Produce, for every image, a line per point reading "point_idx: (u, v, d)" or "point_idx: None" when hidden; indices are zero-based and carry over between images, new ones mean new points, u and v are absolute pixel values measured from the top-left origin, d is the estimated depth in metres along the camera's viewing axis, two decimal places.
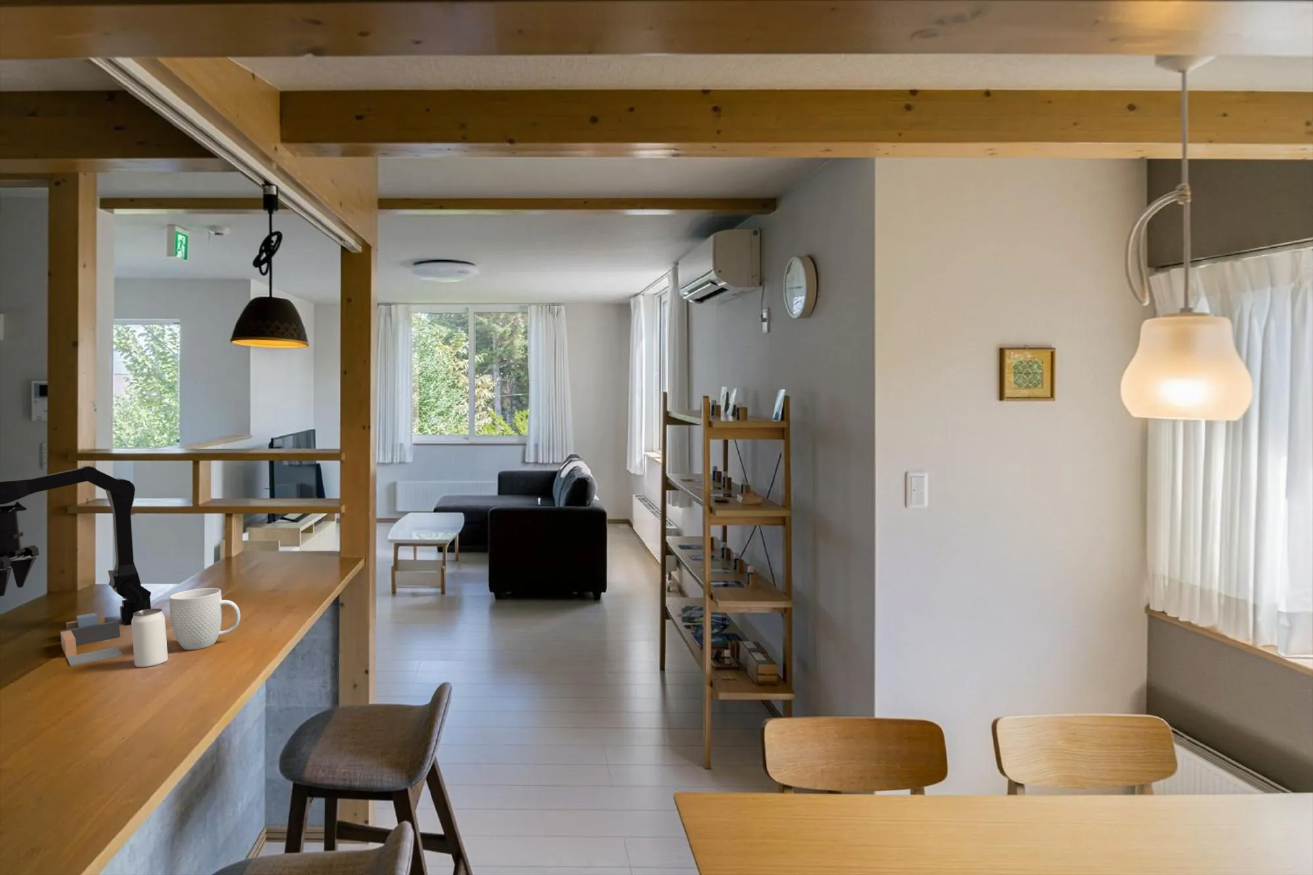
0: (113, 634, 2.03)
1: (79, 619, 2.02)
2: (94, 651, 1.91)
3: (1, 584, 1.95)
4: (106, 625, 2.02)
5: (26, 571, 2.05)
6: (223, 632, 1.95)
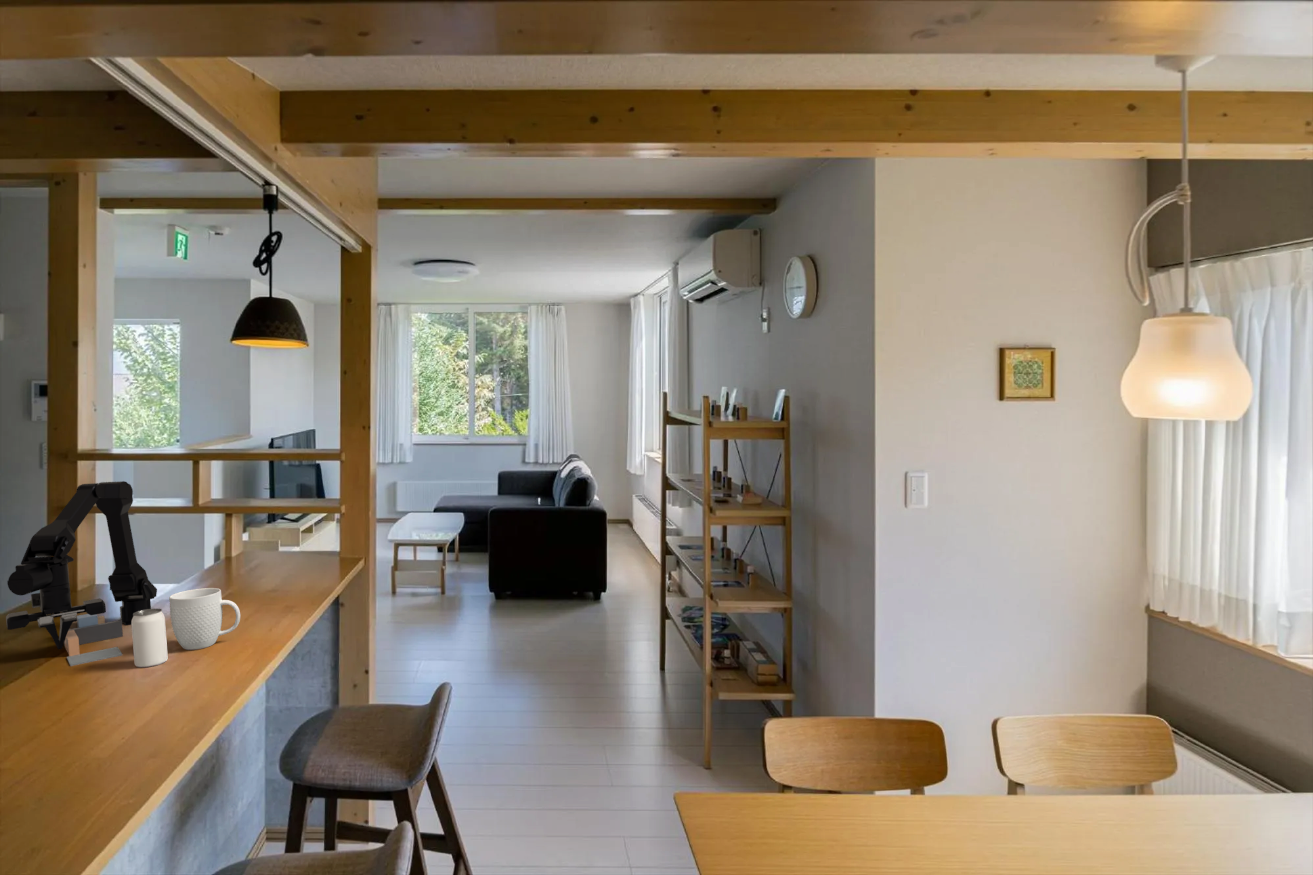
0: (116, 633, 2.03)
1: (79, 619, 2.02)
2: (94, 651, 1.91)
3: None
4: (109, 624, 2.02)
5: (61, 633, 1.89)
6: (223, 632, 1.95)
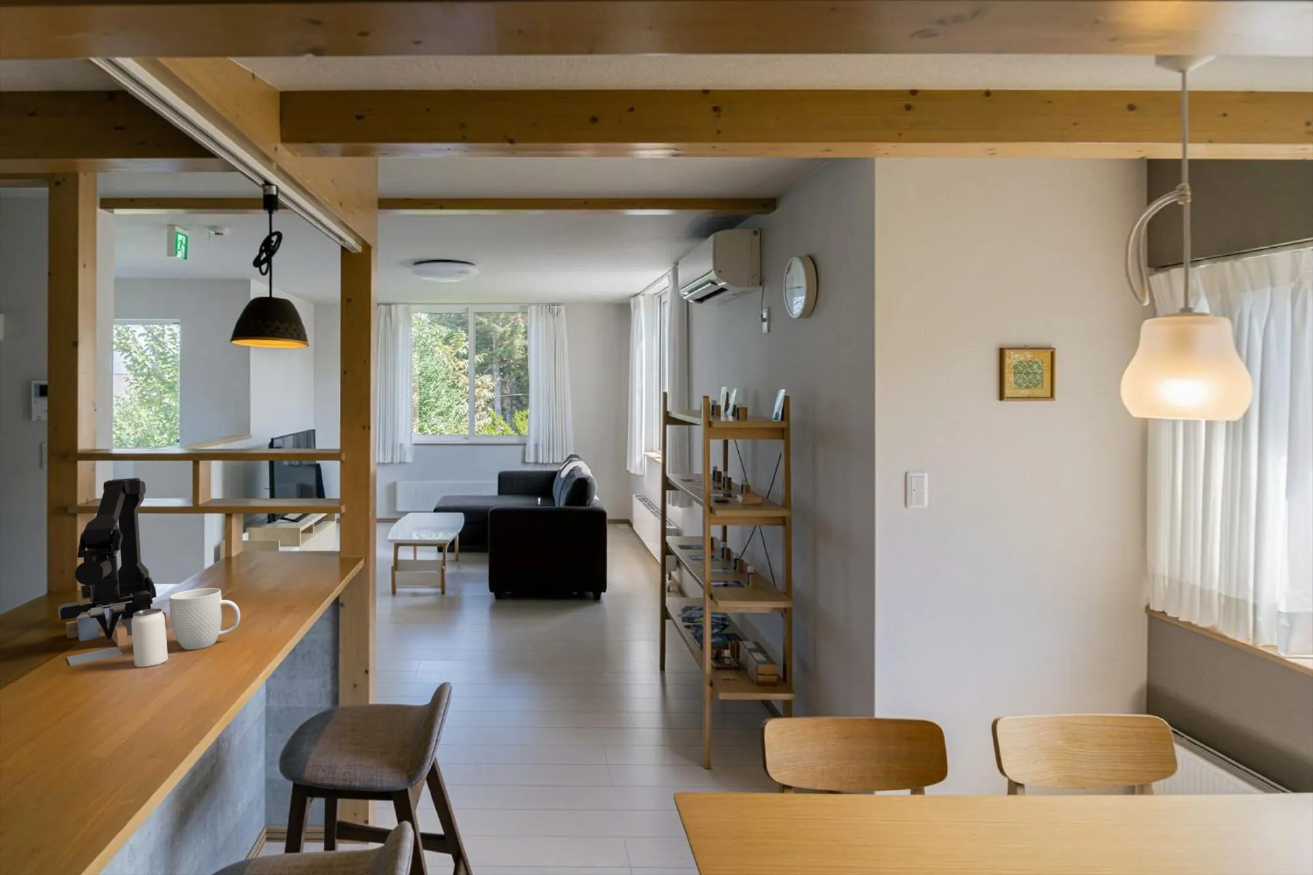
0: None
1: (79, 619, 2.02)
2: (94, 651, 1.91)
3: (102, 628, 1.95)
4: None
5: (110, 624, 1.95)
6: (223, 632, 1.95)
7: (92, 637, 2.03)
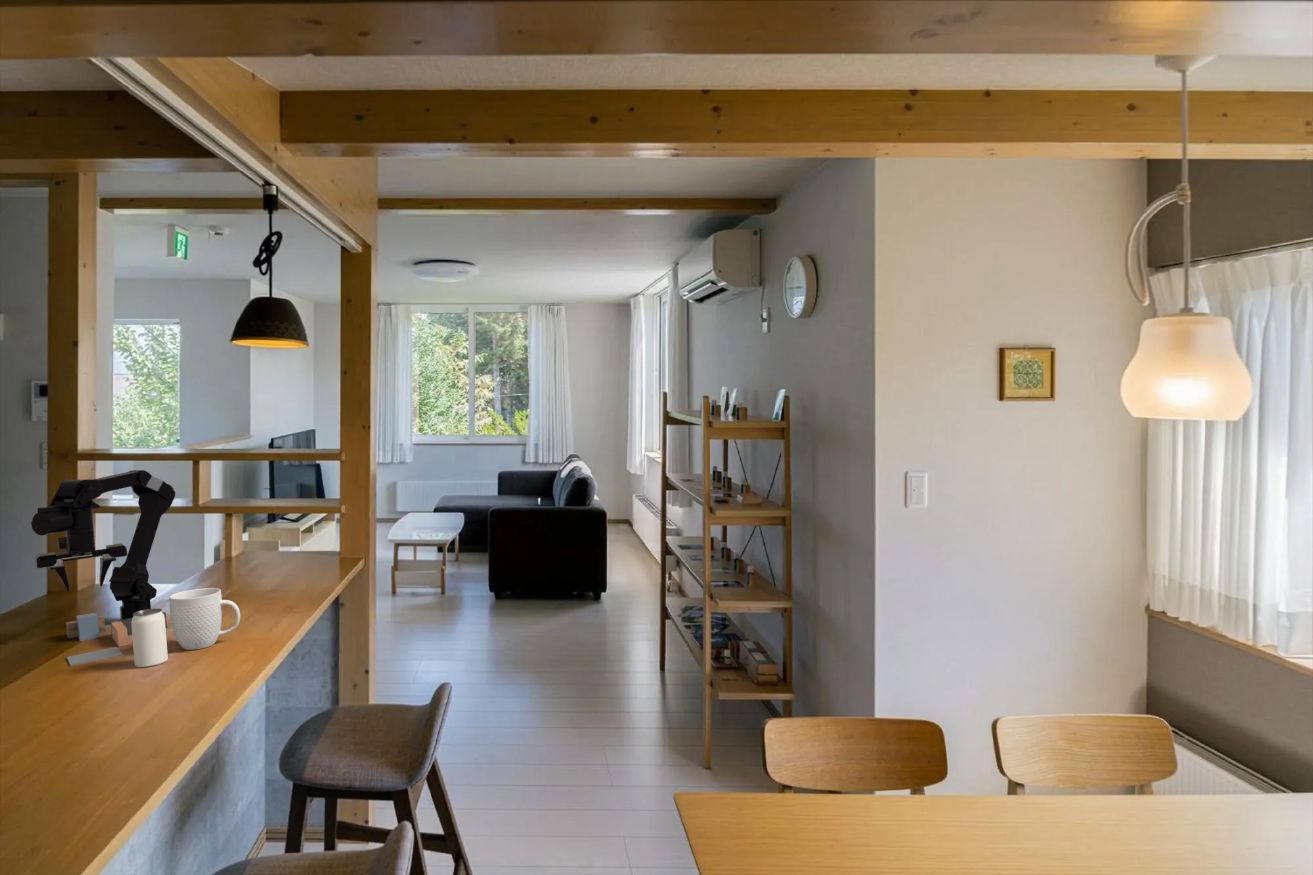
0: None
1: (79, 619, 2.02)
2: (94, 651, 1.91)
3: (62, 580, 2.00)
4: None
5: (101, 571, 2.05)
6: (223, 632, 1.95)
7: (92, 637, 2.03)
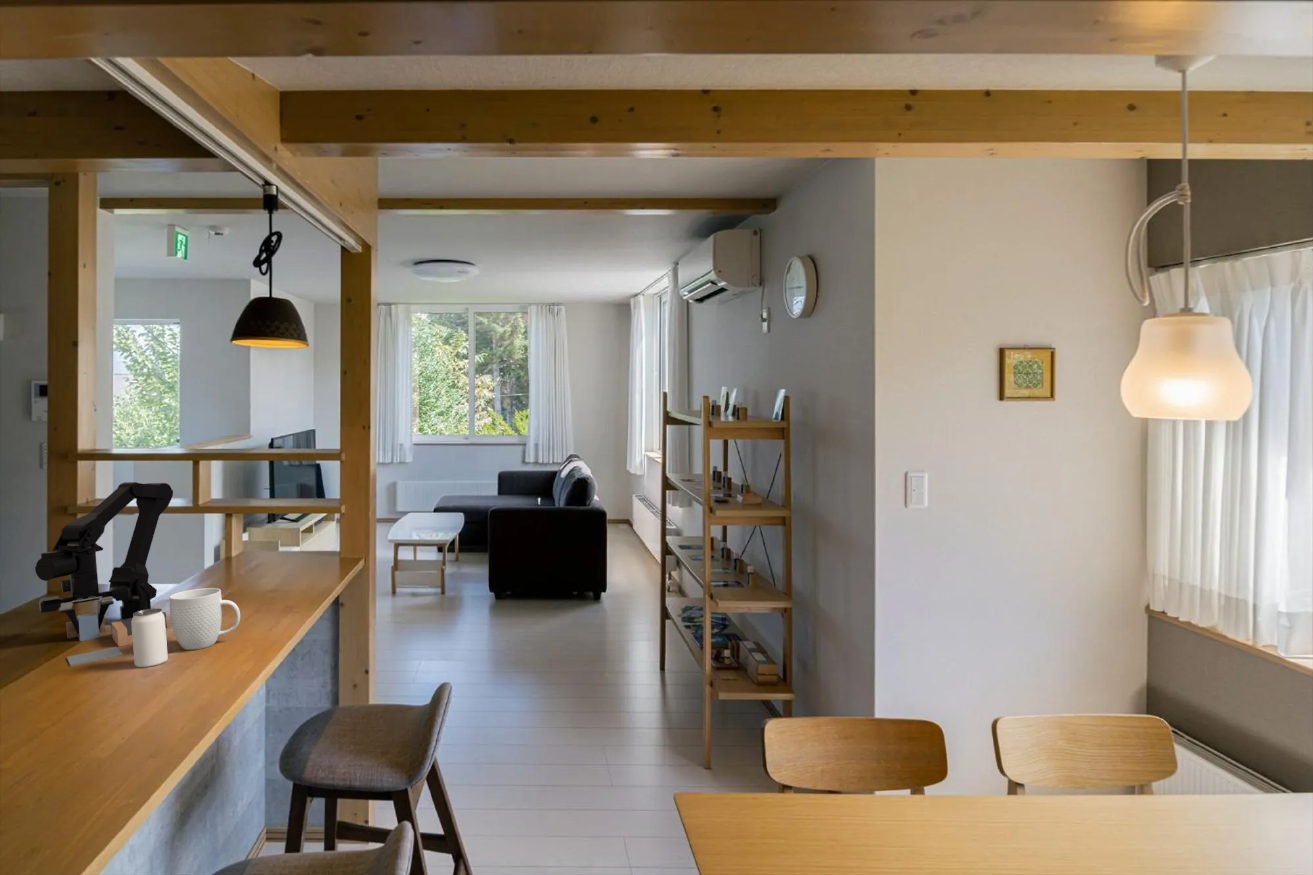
0: None
1: (79, 619, 2.02)
2: (94, 651, 1.91)
3: (72, 623, 2.02)
4: None
5: (98, 615, 2.04)
6: (223, 632, 1.95)
7: (92, 637, 2.03)
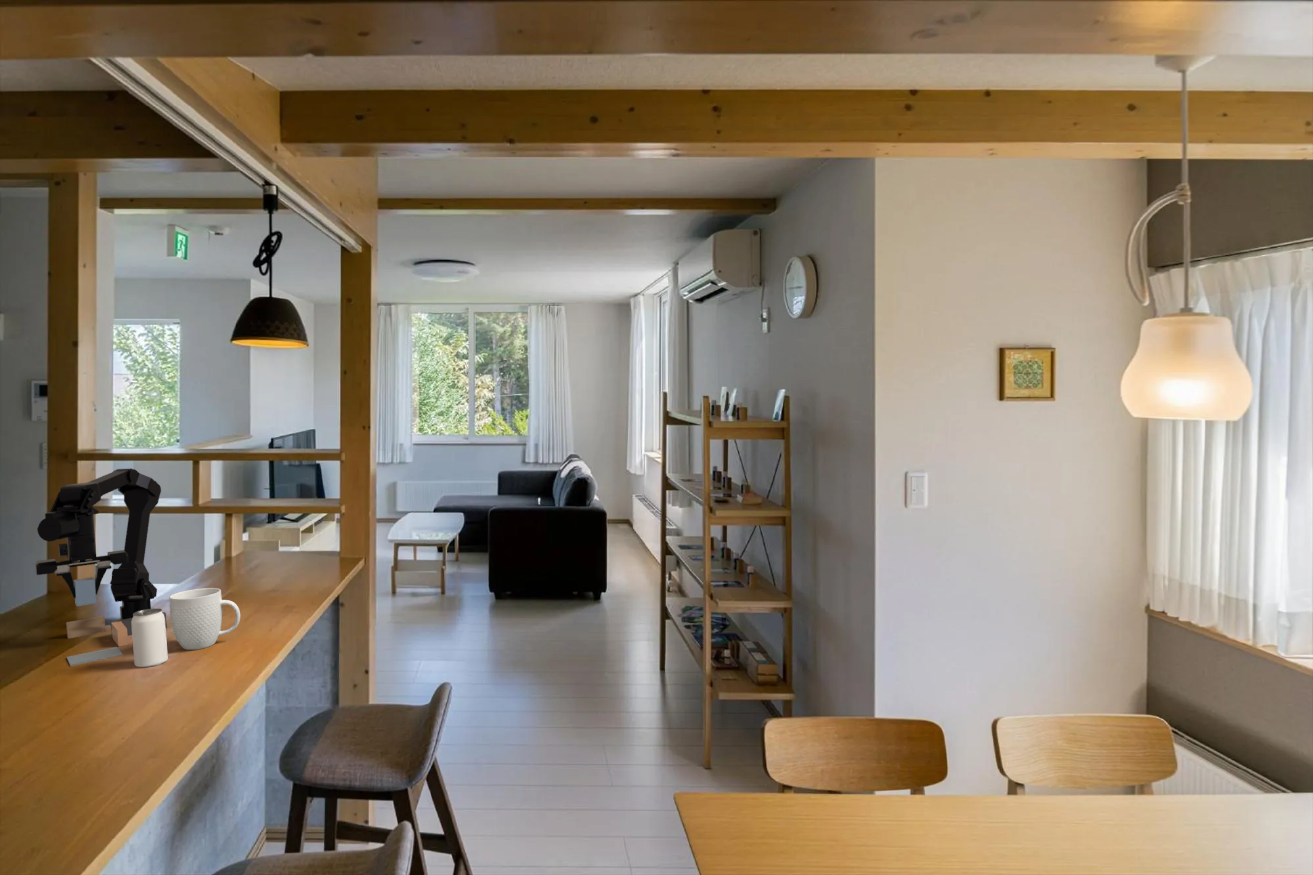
0: None
1: (76, 583, 1.97)
2: (94, 651, 1.91)
3: (68, 586, 1.97)
4: None
5: (96, 579, 1.99)
6: (223, 632, 1.95)
7: (89, 602, 1.98)
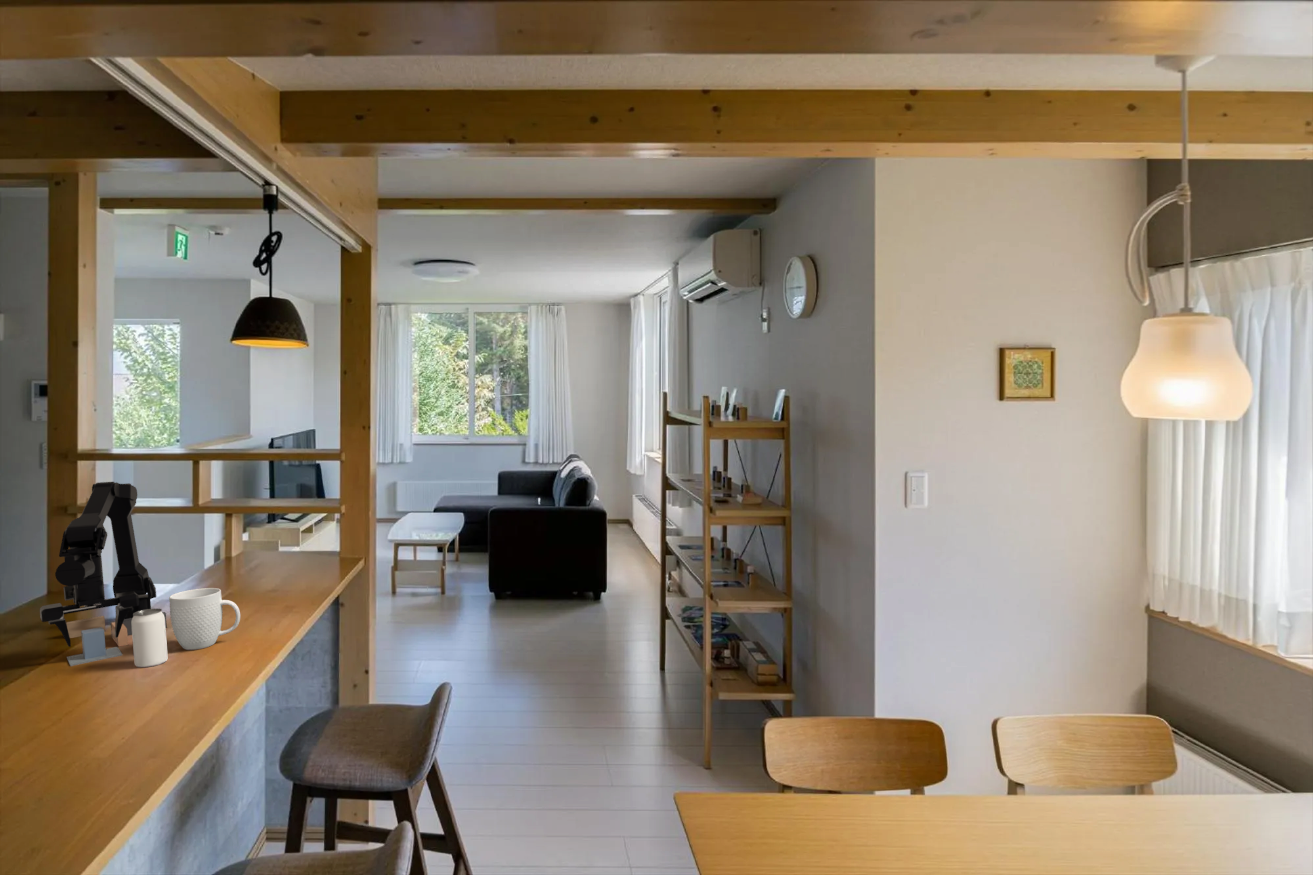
0: None
1: (84, 634, 1.85)
2: None
3: None
4: None
5: (117, 622, 1.90)
6: (223, 632, 1.95)
7: (98, 654, 1.87)
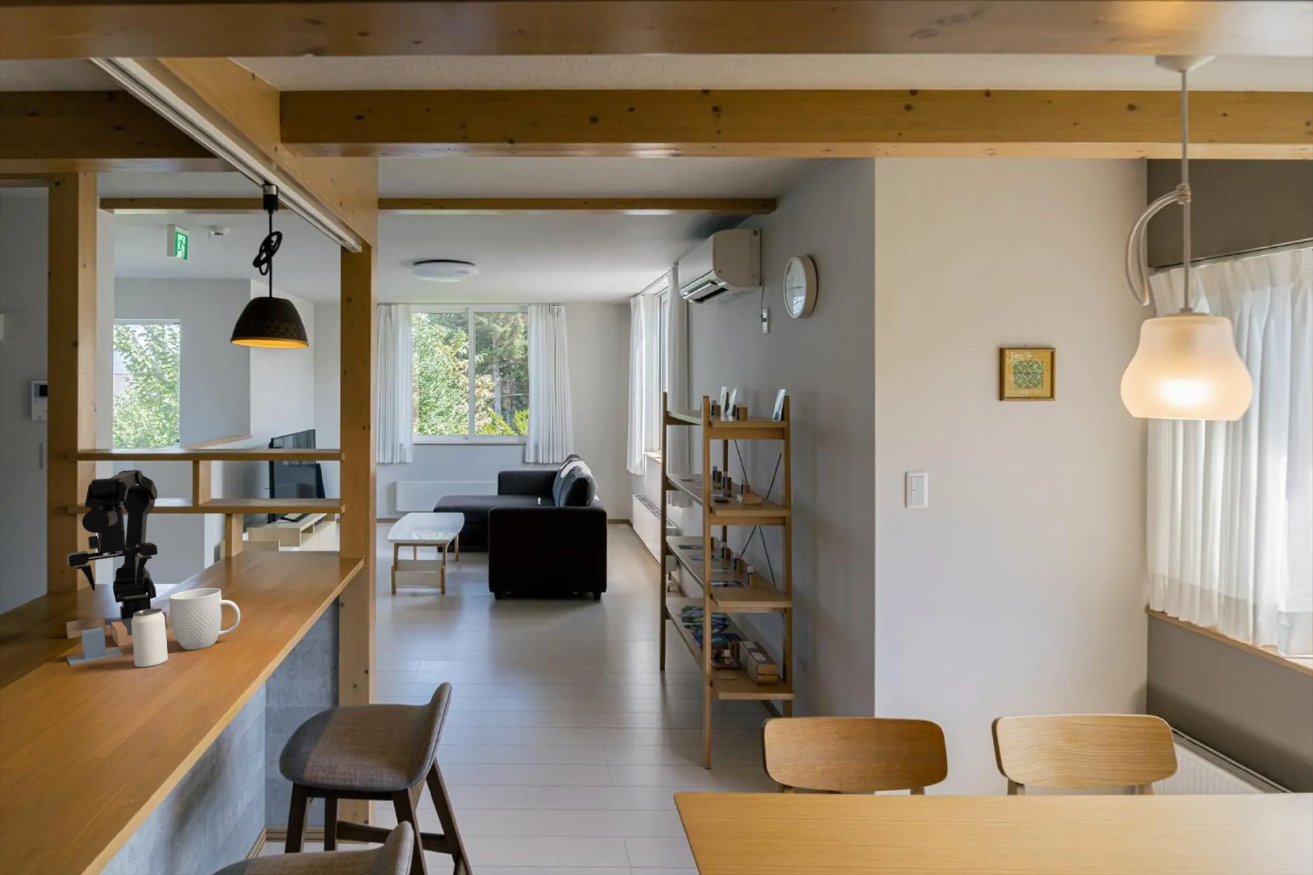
0: None
1: (84, 634, 1.85)
2: None
3: (88, 579, 1.99)
4: None
5: (137, 569, 2.06)
6: (223, 632, 1.95)
7: (98, 654, 1.87)
